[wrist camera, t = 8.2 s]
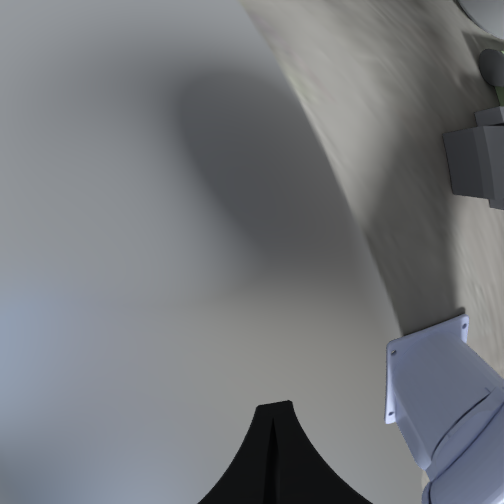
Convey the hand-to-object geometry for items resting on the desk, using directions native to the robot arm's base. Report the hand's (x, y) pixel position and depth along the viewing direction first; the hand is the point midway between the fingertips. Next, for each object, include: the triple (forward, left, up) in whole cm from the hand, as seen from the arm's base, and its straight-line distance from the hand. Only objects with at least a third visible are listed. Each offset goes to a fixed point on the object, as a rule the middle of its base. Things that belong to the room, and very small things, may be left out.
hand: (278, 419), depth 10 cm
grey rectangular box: (+8, -19, -9) cm, 22 cm away
